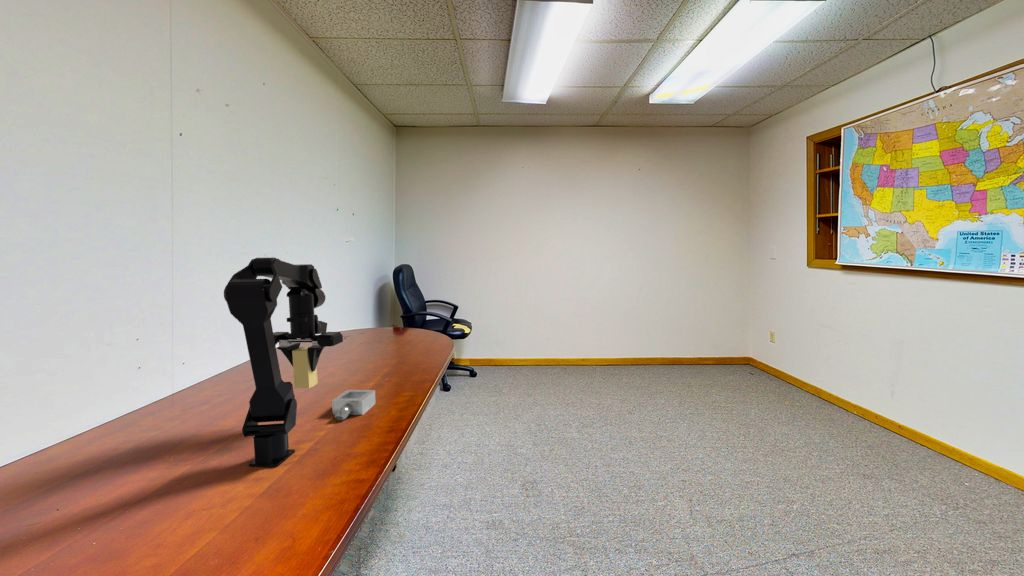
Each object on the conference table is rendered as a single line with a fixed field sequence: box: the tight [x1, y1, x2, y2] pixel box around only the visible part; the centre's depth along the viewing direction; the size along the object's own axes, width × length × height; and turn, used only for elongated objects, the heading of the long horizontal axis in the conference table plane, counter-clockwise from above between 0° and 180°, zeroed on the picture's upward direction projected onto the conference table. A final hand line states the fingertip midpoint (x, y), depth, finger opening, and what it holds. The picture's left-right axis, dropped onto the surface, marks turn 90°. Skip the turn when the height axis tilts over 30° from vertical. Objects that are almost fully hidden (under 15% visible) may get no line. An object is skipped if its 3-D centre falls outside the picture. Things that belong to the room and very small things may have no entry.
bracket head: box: [331, 388, 377, 422], centre depth 114 cm, size 16×8×4 cm, turn 176°
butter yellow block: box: [292, 346, 319, 390], centre depth 106 cm, size 4×4×10 cm
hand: (305, 371), depth 106 cm, fingers closed on butter yellow block, 4 cm apart
